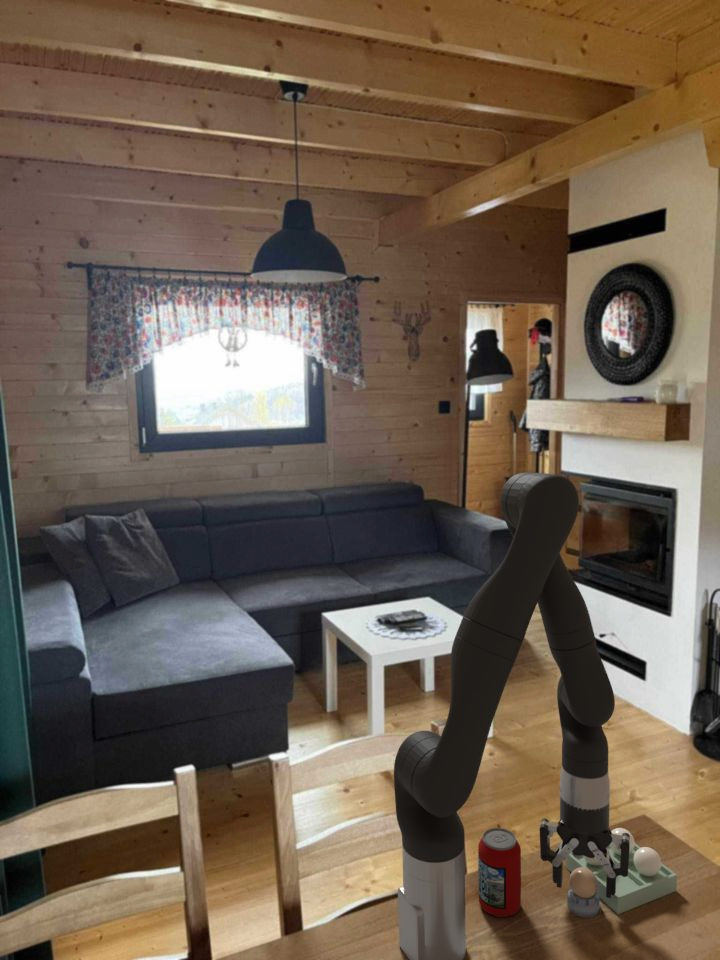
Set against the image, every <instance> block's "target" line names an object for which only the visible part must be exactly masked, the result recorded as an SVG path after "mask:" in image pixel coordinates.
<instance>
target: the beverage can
mask: <svg viewBox="0 0 720 960" xmlns="http://www.w3.org/2000/svg"><path fill="white" fill-rule="evenodd" d="M477 847H478V851H477V852H478V853H477V854H478V855H477V858H478V859H477V861H478V866H477V867H478V868H477V869H478V871H477V873H478V876H477V877H478V902H479V906H480V907H481V908H482V909H483V910H484V911H485V912H486V913H488V914H490V915H493V916H495V917H501V918H503V917H508V916H512V915H514V914H516V913H517V912H518V911H519V910H520V909H521V903H522V902H521V901H522V900H521V899H522V896H521V895H522V894H521V893H522V874H521V873H522V855H521V854H522V851H521V845H520V843H519V842H518V840H517V836H516V835H515V834H514V833H513V831H510V829H506V828H502V827H492V828H488V829H487V830H485V831H484V832H483V833H482V837H481V838H480V840H479V842H478V845H477Z"/></svg>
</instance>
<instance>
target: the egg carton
mask: <svg viewBox="0 0 720 960" xmlns="http://www.w3.org/2000/svg"><path fill="white" fill-rule="evenodd" d="M607 848H608V850H609V852H610V855H611V857H612V859H613V860H614V862H615V863H620V859H621V856H620V855H617V854H616V853H614V852H613V851H612V850H611V848H610V846H608V847H607ZM639 848H642V847H641V846H640V845H638V844H637V843H635V847H634V850H633V851H632V852H631V853H630V854H629V864H628V875H627V876H626V877H623V876H621V875H620V876H617V877H616V893H615V895H611V898H607V897H606V876H607V873H606V871H605V870H604V868H603V867H601V865H599V866H594V865H591V864H589V863H587V862H586V861H585V860H584V858H583V856H582V855H581V856H578V855H573V853H572V852H571V853H570V854H569V856H568V857H567V858H566V859H565V860H566V862H565V863H566V865H565V868H566V870H567V871H569V872H570V874H571V873H572V872H573V870H575V869H576V868H579V867H584V868H587V869H589V870H591V871H592V872H593V873H594V874H595V876H596V878H597V881H598V889H597V891H596V892H597V895H598V896H599V899H600V900H601V901H603V902H604V903H605V905H606V906H608V907H609V908H610V909H611V910H612V911H614V913H616V914H617V915H620V914H622V913H625V912H627V911H630V910H632V909H635V908H637V907H639V906H643V905H645V904H647V903H650V902H651V901H654V900H658V899H659V898H662V897H665V896H667V895H670V894H672V893H674V892H677V888H678V887H677V882H678V875H677V873H675V872H674V871H673V870H671V868H669V867H667V866H666V865H665V864H663V863H662V862H661V864H662V865H661V870H660V871H659V873H658V874H657V875H655V876H651V877H648V876H644V875H642V874H641V873H640V872H639V871H638V870H637V869H636V867H635V865H634V862H633V857H634V854H635V852H636V851H637V850H638V849H639Z"/></svg>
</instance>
